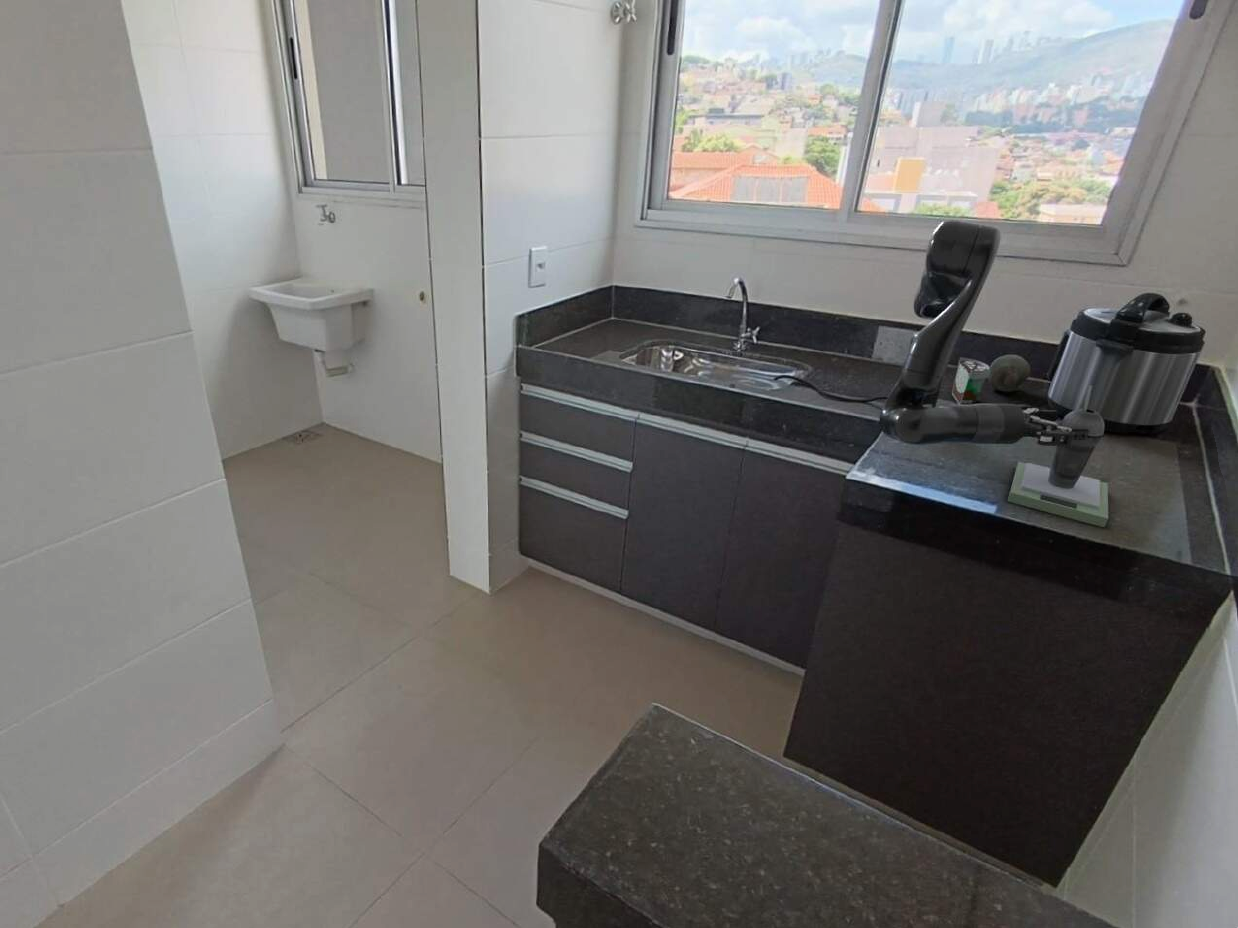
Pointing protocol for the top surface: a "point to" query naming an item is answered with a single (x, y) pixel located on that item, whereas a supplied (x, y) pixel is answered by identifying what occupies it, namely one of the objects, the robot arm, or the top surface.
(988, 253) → the robot arm
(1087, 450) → the beverage cup
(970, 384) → the food container
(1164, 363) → the pressure cooker
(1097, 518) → the kitchen scale
